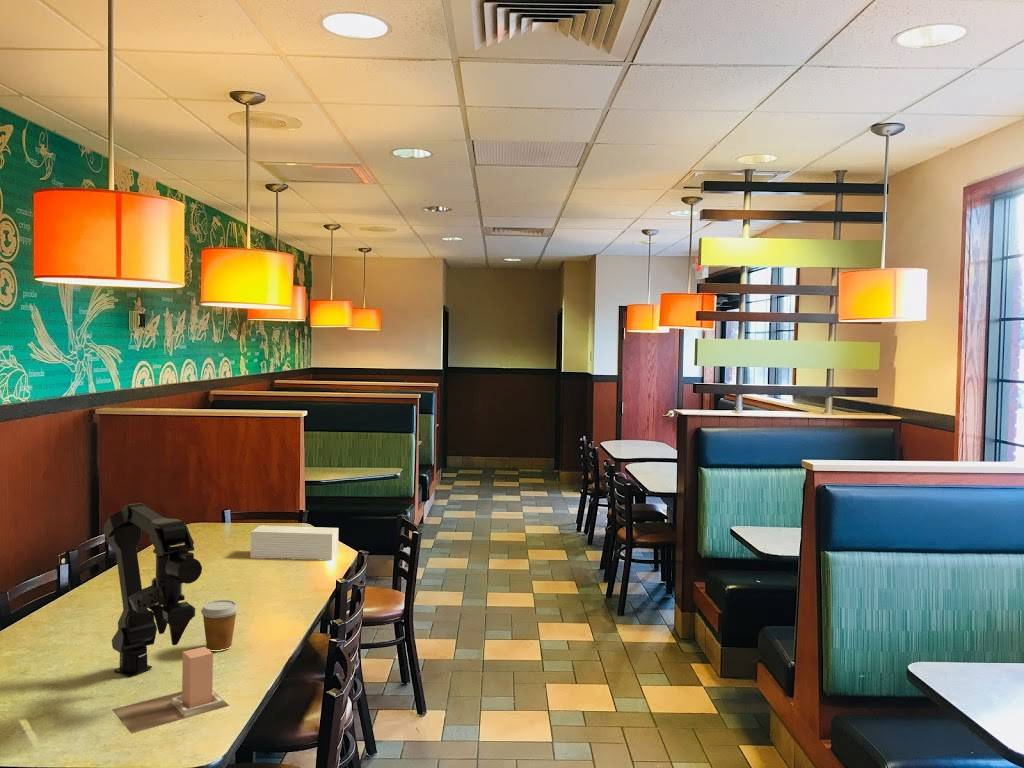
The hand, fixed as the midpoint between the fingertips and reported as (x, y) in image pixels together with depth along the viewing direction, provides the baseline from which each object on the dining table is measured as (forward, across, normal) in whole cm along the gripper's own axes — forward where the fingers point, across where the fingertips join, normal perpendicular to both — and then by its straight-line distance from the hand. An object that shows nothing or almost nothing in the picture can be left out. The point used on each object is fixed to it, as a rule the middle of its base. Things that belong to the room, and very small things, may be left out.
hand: (168, 639), depth 186 cm
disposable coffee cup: (+13, -20, +20) cm, 32 cm away
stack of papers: (+13, -96, +81) cm, 126 cm away
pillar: (+12, +12, +2) cm, 17 cm away
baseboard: (+13, +10, -2) cm, 17 cm away
